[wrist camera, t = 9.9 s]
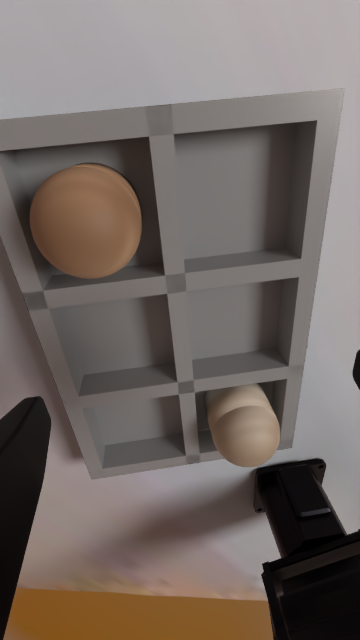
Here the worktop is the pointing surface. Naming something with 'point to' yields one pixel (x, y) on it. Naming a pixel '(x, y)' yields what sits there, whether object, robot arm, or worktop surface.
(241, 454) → the beige rounded cylinder
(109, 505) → the worktop surface
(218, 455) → the grey egg tray
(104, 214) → the brown egg
